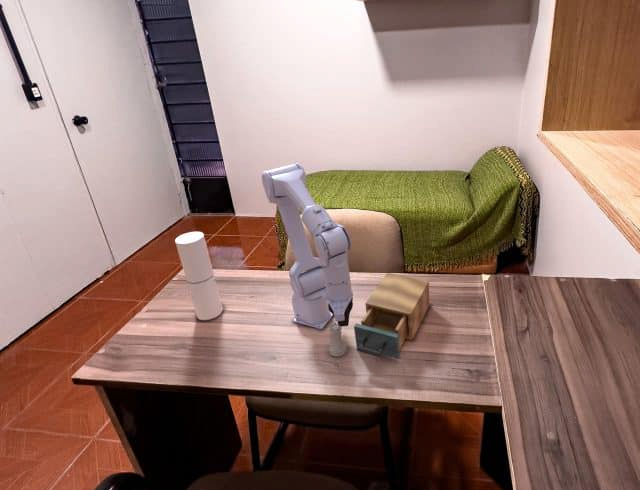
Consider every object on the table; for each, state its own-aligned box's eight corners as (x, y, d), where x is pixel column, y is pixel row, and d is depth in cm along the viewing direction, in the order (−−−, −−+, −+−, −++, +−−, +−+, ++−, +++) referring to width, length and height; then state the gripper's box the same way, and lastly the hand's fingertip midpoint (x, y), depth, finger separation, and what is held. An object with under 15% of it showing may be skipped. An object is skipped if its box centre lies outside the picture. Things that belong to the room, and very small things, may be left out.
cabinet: (412, 340, 100) (410, 313, 97) (368, 328, 105) (365, 303, 101) (429, 305, 112) (428, 280, 108) (389, 296, 117) (387, 272, 113)
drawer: (391, 372, 90) (389, 350, 87) (348, 359, 95) (345, 337, 92) (417, 322, 105) (416, 302, 102) (378, 313, 109) (376, 293, 106)
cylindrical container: (191, 318, 113) (168, 242, 104) (207, 303, 120) (187, 230, 110) (212, 321, 112) (191, 244, 102) (227, 306, 118) (209, 232, 108)
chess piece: (344, 358, 96) (340, 333, 93) (327, 356, 97) (322, 331, 94) (349, 345, 100) (345, 320, 97) (332, 343, 101) (328, 319, 98)
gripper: (321, 261, 94) (328, 306, 100) (317, 299, 81) (325, 348, 87) (350, 259, 95) (355, 303, 100) (351, 296, 81) (357, 345, 87)
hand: (343, 324), depth 94 cm, fingers closed
